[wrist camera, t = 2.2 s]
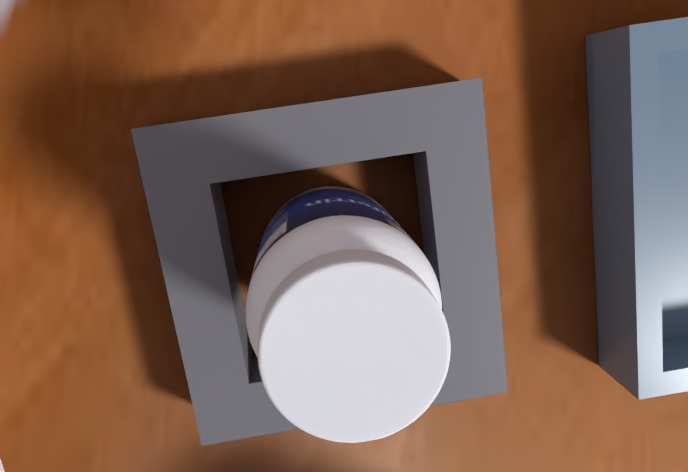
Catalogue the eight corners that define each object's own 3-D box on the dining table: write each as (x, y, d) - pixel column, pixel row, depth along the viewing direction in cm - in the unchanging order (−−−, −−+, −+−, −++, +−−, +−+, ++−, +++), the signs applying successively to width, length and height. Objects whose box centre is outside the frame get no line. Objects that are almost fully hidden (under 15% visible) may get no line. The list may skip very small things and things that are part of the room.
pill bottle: (423, 216, 23) (515, 294, 14) (366, 339, 24) (415, 494, 15) (290, 160, 22) (289, 202, 13) (237, 291, 23) (198, 422, 14)
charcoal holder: (210, 411, 24) (201, 445, 22) (149, 126, 22) (130, 128, 19) (487, 364, 25) (508, 392, 23) (461, 80, 22) (481, 77, 20)
